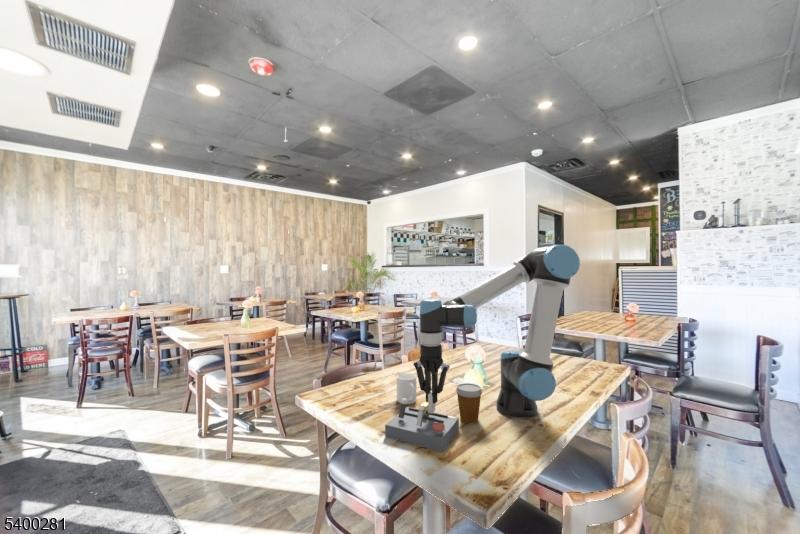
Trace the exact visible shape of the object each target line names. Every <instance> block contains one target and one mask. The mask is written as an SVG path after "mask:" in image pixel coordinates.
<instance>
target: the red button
mask: <svg viewBox="0 0 800 534" xmlns="http://www.w3.org/2000/svg"><path fill="white" fill-rule="evenodd" d="M433 429H434V430H435V434H436V435H438V436H441V435H443V431H444V430H445V425H444V424H442V423H434V424H433Z"/></svg>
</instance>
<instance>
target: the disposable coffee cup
mask: <svg viewBox="0 0 800 534" xmlns="http://www.w3.org/2000/svg"><path fill="white" fill-rule="evenodd" d="M455 391H456V394H457V396H456V397H457V400H458V401H457V402H458V410H459V417H460V418H459V420H460V421H461V422H462V423H465V424H468V425H469V424H476V423H478V421H479V415H480V408H481V407H480V406H481V398H482V394H483V390H482V388H481V386H480V385H478V384H475V383H469V382H467V383H466V382H465V383H464V382H463V383H459V384H458V385H457V386H456V389H455Z"/></svg>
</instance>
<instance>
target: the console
mask: <svg viewBox="0 0 800 534" xmlns="http://www.w3.org/2000/svg"><path fill="white" fill-rule="evenodd" d="M418 412H419V409H418V408H414V407H409V406H406V409H405V413H404V418H403V419H402V418H399V417H398V416H399V413H397V415H395V416H394V417H393V418H391V419H390V420H389V421H388V422H387V423H386V424H384V427H385V428H384V437H385V438H388V439H391V440H392V439H393V440H395V441H399V442H403V443H407V444H410V445H414V446H417V447H422V448H425V449H429V450H433V451H437V452H440V453H443V451H444V450H445V449H446V448H447V446H448V445H449V443H450V442H451V441H452V440H453V438H454V437H455V436H456V434H457V433H458V431H460V428H459V427H460V418H459V417H457V416H451V415H447V414H442V413H437V412H435V411H434V412H433V413H432V414H431V413H429V414H428V415H427V416H423V421H422V427H420V426H416V424H417V418H418ZM434 423H442V424H444V425H445V430H444V431H443V435H441V436H438V435H436V434H435V430H434V429H433V424H434Z"/></svg>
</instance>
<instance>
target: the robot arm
mask: <svg viewBox="0 0 800 534" xmlns="http://www.w3.org/2000/svg"><path fill="white" fill-rule="evenodd" d="M580 262H581V261H580V257H579V255H578V253H577V252H576V250H575V249H573V248H572V247H571V246H568V245H565V244H556V243H555V244H551V245H546V246H541V247H540V246H539V247H537V248H534V249H532V250H531V251H529V252H528V253H526V254H525V255H523V256H522V257H520V258H518V259H516V260H515V261H514V262H513V263H512V265H511V266H510V267H507V268H506V269H504V270H502V271H501V272H499V273H497V274H495V275H494V276H492V277H490V278H489V279H487V280H484V281H483V282H482V283H479V284H477V285H476V286H474V287H473V288H471V289H469V290H467V291H465V292H464V293H462V294H460V295H458V296H457V297H454V298H453V299H451V300H450V299H449V300H446V301H445V302H443V303H442V301H441V299H437V298H436V299H432V298H429V299H422V300H421V301H420V304H419V325H420V326H419V329H420V330H419V331H420V333H419V336H420V337H419V338H420V339H419V342H420V347H419V348H420V349H419V350H420V357H419V360H417V361H415V362H413V367H414V368H415V371H416V374H417V375H416V377H417V381H418V384H419V388H420V391H422V392H424V393H425V403H428V413H431V414H432V413H433V412H434V413H435V412H436V404H437V403H438V395H439V394H440V393H442V392H443V390H444V386H445V382H446V377H447V373H448V370H449V369H450V365H449V364H446V363H444V359H443V348H442V347H443V346H442V343H443V342H442V338H443V335H442V334H443V333H442V332H443V331H442V328H446V327H456V328H457V327H463V328H467V327H474V326H475V325H476V324H477V317H478V315H477V314H478V313H477V309H478V308H480V307H481V306H484V305H485V304H487V303H488V302H490V301H492V300H495V299H496V298H498V297H499V296H501V295H504V294H505V293H507V292H509V291H510V290H511V289H514V288H515V287H518V286H519V285H521V284H523V283H526V284H527V283H530V282H532V281H534V282H535V285H536V289H535V293H534V294H535V295H534V298H533V303H532V304H533V305H532V308H531V314H530V319H529V323H528V329H527V334H526V339H525V344H524V349H523V350H504V351H502V352H501V353H500V359H499V361H500V390H499V394H498V395H497V396H498V397H497V398H496V399H497V400H496V410H497V411H498V412H500V413H501V414H503V415H505V416H508V417H511V418H516V419H529V418H533V417H536V416H537V415H538V405H537V402H540V401H544V400H546V399H548V398H550V397H551V396H552V395H553V393H555V389H556V387H557V380H556V378H555V375H554V374H553V368H554V362H553V360H552V359H551V353H552V348H553V342H554V339H555V332H556V327H557V322H558V317H559V312H560V307H561V303H562V298H563V297H562V296H563V292H564V290H565V289H566V288H568V287H569V286H570V282H571V278H572V277H574V276H575V275H576V274H577V273H578V271H579V270H580V265H581V263H580ZM423 369H424V371H423ZM439 369H440V370H441V371H440V375H439ZM438 375H439V376H438ZM438 377H439V378H438ZM438 379H439V380H438ZM536 401H537V402H536Z"/></svg>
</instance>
